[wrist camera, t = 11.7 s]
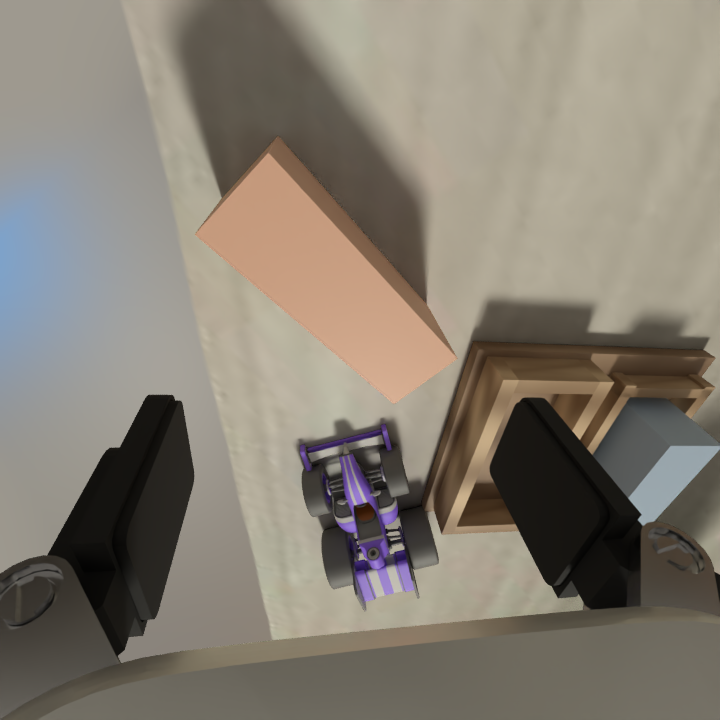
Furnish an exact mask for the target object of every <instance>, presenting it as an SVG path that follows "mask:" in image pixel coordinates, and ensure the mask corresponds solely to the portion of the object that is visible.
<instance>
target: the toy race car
mask: <svg viewBox="0 0 720 720" xmlns="http://www.w3.org/2000/svg"><path fill="white" fill-rule="evenodd" d="M379 444H384V445H386V447H387V448H383V449H380V459H381V464H382V466H380V468H379V469H376V470H371V471H364V469H363V468H362V466H361V465H360V463H357V462H356V460H355V458H354V456H353V453H349V450H353V449H357V448H361V447H365V446H371V445H379ZM341 452H344V454H343V455H340V456H339V459H340V463H341V468H342V474H343V477H342V478H339V479H336V480H332V481H329V478H328V475H327V473H326V471H325V469H324V467H323V466H322V465H321V464H320V465H316V466H312V462H313V461H316V460H318V459H321V458H323V457H326V456H329V455H333V454H337V453H341ZM300 454H301V457H302V459H303V462H304V465H305V467H306V468H305V469H303V472H302V490H303V495H304V500H305V503H306V506H307V509H308V511H309V513H310V515H311V516H312V517H316V516H320V515H324V514H328V513H331V512H332V508H333V513H334V517H335V519H336V522H337V523H338V525H339V527H335V528H331V529H327V530H324V531H323V534H322V557H323V563H324V568H325V572H326V576H327V579H328V582H329V584H330V586H331V587H332V588H333V589H337V588H341V587H345V586H349V585H354V590H355V594H356V596H357V598H358V600H359V602H360V604H361V606H362V608H363V610H364V611H366V603H365V602H366V601H370V600H374V599H375V598H376V597H380V596H384V595H388V594H392V593H396V592H400V591H405V592H407V591H411V590H415V593H416V596H417V599H419V593H418V589H417V585H416V580H415V576H414V572H413V569H414V570H415V569H420V568H424V567H428V566H432V565H436V564H438V563H439V558H438V553H437V549H436V545H435V542H434V538H433V534H432V531H431V527H430V524H429V520H428V517H427V514H426V512H425V511H424V509H423V506H420V507H416V508H412V509H408V510H404V511H400V513H399V517H400V522H401V527H402V529H401V527H400V526H399V528H398V529H389V530H387V529H385V525H387V524H390V523H392V522H394V521H395V519H396V517H397V514H398V506H397V499H396V496H400V495H404V494H408V493H409V492H410V489H409V485H408V481H407V477H406V473H405V469H404V465H403V462H402V458H401V454H400V451H399V448H398V446H397V445H395V446H391V444H390V440H389V436H388V432H387V429H386V425H385V424H383V425H381V429H380V430H376V431H373V432H369V433H365V434H361V435H357V436H353V437H349V438H345V439H341V440H337V441H333V442H329V443H325V444H322V445H318V446H314V447H310V448H307V447H305V445H300ZM366 473H367V474H366ZM342 479H343V480H342ZM394 531H399V532H400V535H398V536H388V535H386V534H388V532H394ZM402 531H403V533H402ZM354 532H357V537H358V538H357V539H355V538H354V537H353V534H352V533H354ZM403 536H404V537H403ZM399 537H400V538H401V539H397V540H393V541H390V539H392V538H399ZM356 541H358V543H359V545H357V542H356ZM398 544H403V547H404V548H405V550H401V551H397V552H394V553H395V554H391V555H390V553H389V551H390V549H392V546H394V545H398ZM359 547H360V549H358V548H359ZM362 553H363V555H364V557H365V558H366V559H367V561H365V559H364V560H360V561H359V560H358V559H359V554H362Z"/></svg>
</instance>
